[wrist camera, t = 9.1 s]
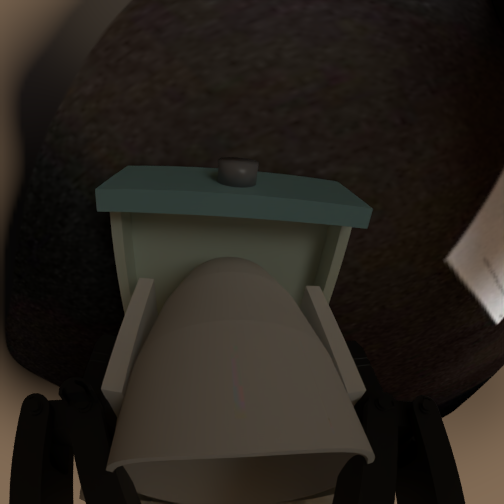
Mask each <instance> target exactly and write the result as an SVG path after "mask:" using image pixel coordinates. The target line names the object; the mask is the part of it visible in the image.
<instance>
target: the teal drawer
mask: <svg viewBox="0 0 504 504" xmlns="http://www.w3.org/2000/svg"><path fill="white" fill-rule="evenodd" d="M258 164H259V163H258V162H256V161H254V160H250V159H244V158H234V157H227V158H220V159H219V163H218V168H201V167H177V166H127V167H125V168H124V169H122V170H121V171H120V172H118V173H117V174H115V175H114V176H113V177H111V178H110V179H108V180H107V181H106V182H104V183H103V184H102V185H100V186H99V187H98V188H96V189H95V193H96V205H97V211H104V212H110V220H111V230H112V239H113V247H114V255H115V262H116V269H117V275H118V281H119V287H120V293H121V298H122V303H123V308H124V313H125V314H126V311H127V308H128V306H129V303H130V300H131V298H132V295H133V293H134V290H135V288H136V285H137V283H138V280H139V278H149V279H154V284H155V294H156V304H157V312H158V315H159V313H160V312H161V310H162V308H163V306H164V304H165V302H166V301H167V299H168V298H169V297H170V295H171V294H172V293H173V292H174V291H175V290H176V288H177V287H178V286H179V285H180V284H181V283H182V281H183V280H184V279H185V278H186V277H187V276H188V275H189V273H190V272H191V271H192V270H193V269H194V268H196V267H197V266H199V265H200V264H202V263H204V262H206V261H209V260H211V259H215V258H220V257H238V258H243V259H247V260H250V261H252V262H254V263H256V264H258V265H259V266H261V267H262V268H263V269H265V270H266V271H267V272H268V273H269V274H270V275H271V276H272V277H273V278H274V279H275V280H276V281H277V282H278V283H279V284H280V285H281V286H282V287H283V288H284V289H285V290H286V291H287V292H288V293H289V294H290V295H291V296H292V298H293V299H294V301H295V302H296V304H297V305H298V307H299V308H300V306H301V302H302V299H303V295H304V291H305V287H306V286H320V288H321V290H322V292H323V294H324V296H325V299H326V301H327V303H328V304H329V301H330V298H331V295H332V292H333V289H334V286H335V283H336V280H337V277H338V273H339V270H340V267H341V264H342V260H343V257H344V253H345V250H346V247H347V243H348V239H349V236H350V232H351V228H352V227H357V228H366V229H367V228H368V224H369V221H370V217H371V214H372V210H373V209H372V208H371V207H370V206H369V205H367V204H366V203H365V202H364V201H362V200H361V199H360V198H358V197H357V196H356V195H355V194H353V193H352V192H351V191H349V190H348V189H347V188H345V187H344V186H343V185H341V184H340V183H339V182H337V181H331V180H324V179H317V178H309V177H302V176H294V175H285V174H276V173H267V172H258Z"/></svg>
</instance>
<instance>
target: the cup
mask: <svg viewBox="0 0 504 504" xmlns="http://www.w3.org/2000/svg"><path fill="white" fill-rule="evenodd" d="M355 455H362V456H363V457H365V460H366V462H367V464H369V463H372V462H373V461H374V459H375V455H374V453H373V450H372V448H371V446H370V443H369V441H368V439H367V437H366V434H365V432H364V430H363V427H362V425H361V423H360V421H359V418H358V416H357V414H356V412H355V409H354V407H353V405H352V403H351V401H350V398H349V396H348V394H347V392H346V389H345V387H344V385H343V383H342V381H341V379H340V376H339V374H338V372H337V370H336V368H335V366H334V363H333V361H332V359H331V357H330V355H329V353H328V352H327V350H326V348H325V347H324V345H323V344H322V342H321V341H320V339H319V338H318V336H317V335H316V333H315V331H314V330H313V328H312V327H311V325H310V324H309V322H308V321H307V319H306V318H305V316H304V314H303V313H302V311H301V310H300V308H299V307H298V305H297V304H296V302H295V301H294V299H293V298H292V296H291V295H290V294H289V293H288V292H287V291H286V290H285V289H284V288H283V287H282V286H281V285H280V284H279V283H278V282H277V281H276V280H275V279H274V278H273V277H272V276H271V275H270V274H269V273H268V272H267V271H266V270H265V269H263V268H262V267H261V266H259V265H258V264H256V263H254V262H252V261H250V260H247V259H243V258H238V257H220V258H215V259H211V260H209V261H206V262H204V263H202V264H200V265H199V266H197V267H196V268H194V269H193V270H192V271H191V272H190V273H189V275H188V276H187V277H186V278H185V279H184V280H183V281H182V283H181V284H180V285H179V286H178V287H177V288H176V290H175V291H174V292H173V293H172V294H171V295H170V297H169V298H168V299H167V301H166V302H165V304H164V306H163V308H162V310H161V312H160V313H159V315H158V317H157V319H156V321H155V323H154V325H153V327H152V329H151V331H150V333H149V335H148V337H147V339H146V341H145V343H144V345H143V347H142V349H141V351H140V353H139V355H138V358H137V360H136V362H135V364H134V368H133V371H132V374H131V377H130V380H129V384H128V387H127V390H126V394H125V397H124V401H123V404H122V408H121V411H120V415H119V418H118V422H117V426H116V430H115V434H114V437H113V441H112V446H111V450H110V454H109V458H108V463H107V467H106V471H110V472H113V471H114V469H116V468H117V467H119V466H123V467H124V468H125V470H126V471H127V473H128V474H129V476H130V478H131V480H132V481H133V483H134V486H135V489H136V491H137V493H140V494H143V495H146V496H149V497H152V498H156V499H160V500H164V501H169V502H174V503H180V504H274V503H280V502H285V501H290V500H295V499H299V498H303V497H307V496H310V495H314V494H317V493H320V492H323V491H326V490H328V489H331V488H333V487H336V482H337V477H338V475H339V473H340V471H341V470H342V468H343V467H344V465H345V464H346V463H347V461H348V460H349V459H350V458H352V457H353V456H355Z"/></svg>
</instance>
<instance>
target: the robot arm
mask: <svg viewBox="0 0 504 504" xmlns="http://www.w3.org/2000/svg"><path fill="white" fill-rule="evenodd" d="M492 1H493V4H494V7H495V9H496V12H497V15H498V17H499V20H500V22H501V25H502V27H503V30H504V0H492ZM300 310H301V311H302V313H303V314H304V316H305V318H306V319H307V321H308V322H309V324H310V325H311V327H312V328H313V330H314V331H315V333H316V335H317V336H318V338H319V339H320V341H321V342H322V344H323V345H324V347H325V348H326V350H327V352H328V353H329V355H330V357H331V359H332V361H333V363H334V366H335V368H336V370H337V372H338V374H339V376H340V379H341V381H342V383H343V385H344V387H345V389H346V392H347V394H348V396H349V398H350V401H351V403H352V405H353V407H354V409H355V412H356V414H357V416H358V418H359V421H360V423H361V425H362V427H363V430H364V432H365V434H366V437H367V439H368V441H369V443H370V446H371V448H372V450H373V453H374V455H375V459H374V461H373V462H372V463H369V464H367V462H366V460H365V457H363V456H362V455H355V456H353V457H352V458H350V459H349V460H348V461H347V463H346V464H345V465H344V467H343V468H342V470H341V471H340V473H339V475H338V477H337V482H336V488H335V493H334V497H333V502H332V504H394V500H395V492H396V498H397V504H465V501H464V495H463V491H462V486H461V482H460V478H459V474H458V471H457V466H456V463H455V459H454V456H453V452H452V449H451V446H450V442H449V439H448V436H447V433H446V430H445V427H444V424H443V421H442V418H441V415H440V413H439V410H438V407H437V405H436V403H435V401H434V400H433V399H432V398H430V397H428V396H425V395H421V396H418V397H417V398H416V399H415V400H414V401H413V402H407V401H397V400H395V399H394V398H393V396H391V395H390V394H388V393H385V392H383V390H382V388H381V386H380V384H379V381H378V379H377V377H376V375H375V373H374V371H373V368H372V366H370V362H369V360H368V359H367V356H366V354H365V352H364V350H363V348H362V347H361V346H360V345H359V344H358V343H357V342H356V341H345V340H344V338H343V335H342V333H341V331H340V329H339V327H338V324H337V322H336V320H335V318H334V316H333V313H332V311H331V309H330V307H329V305H328V303H327V301H326V299H325V296H324V294H323V292H322V290H321V288H320V286H306V287H305V291H304V295H303V299H302V302H301V306H300ZM157 317H158V312H157V304H156V294H155V284H154V279H149V278H139V280H138V283H137V285H136V288H135V290H134V293H133V295H132V298H131V300H130V303H129V306H128V308H127V311H126V314H125V316H124V319H123V322H122V325H121V328H120V330H119V333H118V336H113V335H105V334H103V335H102V336H101V337H100V339H99V340H98V341H97V342H96V344H95V346H94V349H93V351H92V352H93V353H92V354H91V357H90V361H89V362H88V365H87V368H86V370H85V373H84V376H83V378H81V377H72V378H69V379H67V380H66V381H64V382H63V383H62V385H61V386H60V388H59V395H60V397H61V398H62V400H50V401H48V400H47V399H46V398H45V397H44V396H43V395H41V394H38V393H36V394H35V393H34V394H31V395H29V396H27V397H26V398H25V399H24V401H23V403H22V407H21V411H20V416H19V421H18V426H17V431H16V437H15V443H14V450H13V457H12V467H11V478H10V500H9V504H73V459H74V457H75V462H76V467H77V471H78V475H79V480H80V483H81V487H82V491H83V495H84V498H85V502H86V504H141V502H140V499H139V497H138V494H137V491H136V489H135V486H134V483H133V481H132V480H131V478H130V476H129V474H128V473H127V471H126V470H125V468H124V467H123V466H119V467H117V468H116V469H114V471H113V472H110V471H106V467H107V463H108V458H109V454H110V450H111V446H112V441H113V437H114V434H115V430H116V428H115V427H116V422H117V420H118V418H119V415H120V411H121V408H122V404H123V401H124V397H125V394H126V390H127V387H128V384H129V380H130V377H131V374H132V371H133V368H134V364H135V362H136V360H137V358H138V355H139V353H140V351H141V349H142V347H143V345H144V343H145V341H146V339H147V337H148V335H149V333H150V331H151V329H152V327H153V325H154V323H155V321H156V319H157Z"/></svg>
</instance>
